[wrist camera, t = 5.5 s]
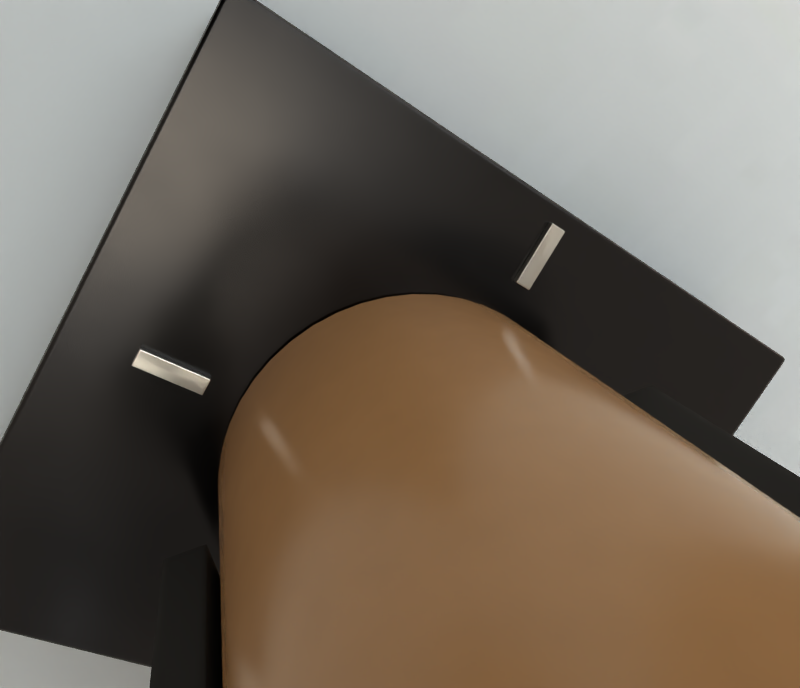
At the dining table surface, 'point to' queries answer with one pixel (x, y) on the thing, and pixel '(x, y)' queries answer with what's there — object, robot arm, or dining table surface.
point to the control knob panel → (289, 311)
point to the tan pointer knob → (485, 522)
